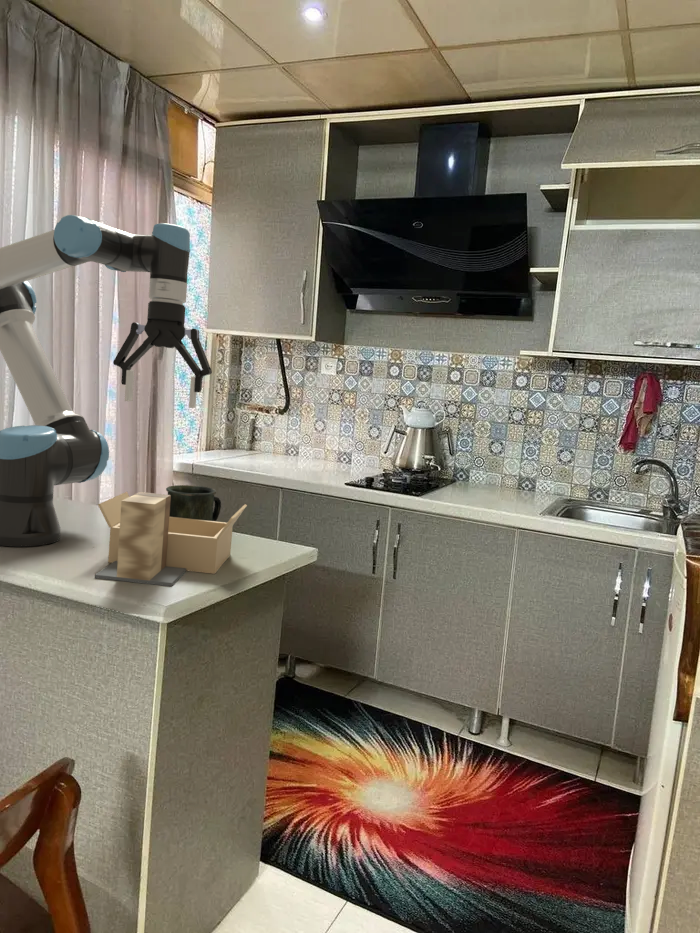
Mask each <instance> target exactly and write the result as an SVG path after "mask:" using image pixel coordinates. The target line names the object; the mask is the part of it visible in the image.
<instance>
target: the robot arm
mask: <svg viewBox="0 0 700 933" xmlns="http://www.w3.org/2000/svg"><path fill="white" fill-rule="evenodd" d="M190 244H191V234H190V231H189V229H187V228H186V227H183V226H181V225H178V224H172V223H167V222H166V223H164V222H160V223H156V224H154V225H153V227H152V232H151V234H133V233H129V232H127V231H123V230H121V229H117V228H115V227H112V226H109V225H106V224H104V223H101V222H98V221H95V220H92V219H91V218H89V217H84V216H79V215H76V214H67V215H64V216H62V217H60V220H59V221H58V222H57V223H56V224H55V227H54V229H51V230H50V231H46V232H43V233H40V234H37V235H34V236H32V237H29V238H26V239H23V240H20V241H17V242H14V243H11V244H7V245H5V246H2V247H0V354H1V355H2V358H3V359H4V362H5V364H6V365H7V367H8V368H7V369H8V370H9V372H10V374H11V377H12V378H13V380H14V383H15V384H16V387H17V389H18V391H19V393H20V395H21V397H22V399H23V402H24V404H25V406H26V408H27V409H28V413H29V414H30V417H31V418H32V420H33V423H34V424H33V425H18V426H17V425H16V426H11V427H10V426H9V427H6V428H3V429H1V430H0V546H3V547H6V546H7V547H37V546H43V545H44V546H45V545H50V544H52V543H56V542H58V541H60V540H61V526H60V525H61V524H60V522H59V518H58V516H57V512H56V509H55V505H54V492H55V490H54V488H55V486H61V485H68V484H75V483H78V484H81V483H84V482H87V481H92V480H94V479H96V478H98V477H99V476H101V475H102V473H103V472H104V471H105V469H106V468H107V465H108V461H109V458H110V448H109V445H108V444H109V443H108V440H107V439H106V437H105V436H104V435H103V434H102V432H100V431H99V432H98V431H96V430H94V429H90V428H89V425H88V423H87V421H86V419H85V417H84V416H83V415H81V414H77V413H75V412H74V410H73V409H72V406H71V404H70V402H69V400H68V398H67V395H66V394H65V392H64V389H63V388H62V386H61V383H60V382H59V379H58V377H57V376H56V373H55V371H54V369H53V367H52V365H51V363H50V360H49V358H48V356H47V354H46V352H45V350H44V348H43V346H42V344H41V342H40V340H39V338H38V335H37V333H36V331H35V328H34V327H33V324H34V322H35V320H36V316H35V314H36V312H37V306H36V304H37V303H38V302H37V296H36V293H35V290H34V288H33V287H32V285H31V284H30V283H29V281H31V280H34V279H36V278H40V277H44V276H46V275H49V274H52V273H57V272H59V271H62V270H66V269H69V268H72V267H74V266H75V267H76V266H79V265H82V264H86V263H89V262H91V263H97V264H100V265H104V266H105V267H106V268H107V269H108V270H111V271H115V272H116V271H117V272H121V273H126V272H136V273H137V272H138V273H139V272H140V273H146V272H147V273H149V274H150V275H149V288H148V289H149V290H148V291H149V292H148V298H149V299H150V300H151V301H149V302H148V304H147V317H146V319H147V320H146V323H145V324H141V323H138V322H134V321H133V322H132V323H131V324H130V331H129V334H128V335H127V337H126V339H125V341H124V342H123V344H122V346H121V347H120V349H119V350H118V352H117V355H116V356H115V358H114V360H113V362H112V364H113V365H115V366H117V367H119V368H120V369H121V385H123V386H125V391H124V402H133V399H134V385H135V384H134V383H135V382H134V381H135V380H134V379H135V370H134V369H132V368H133V367H134V365H136V364H137V363H138V362H139V360H141V358H143V356H144V355H146V353H147V352H149V350H151V349H152V348H154V347H157V348H168V349H176V350H177V352H178V353H179V355H180V356H181V358H183V360H184V362H185V363H186V364H187V366H188V367H189V368H190V370H191V372H192V373H193V374H194V376H190V383H189V384H190V386H189V397H188V398H189V400H188V408H189V409H195V408H196V405H197V393H201V392H202V388H203V387H202V386H203V378H204V377H206V376H209V375H211V374H212V372H213V370H212V368H211V365H210V362H209V360H208V358H207V356H206V353H205V351H204V348H203V345H202V343H201V340H200V330H199V329H198V328H191V329H187V328H186V327H185V320H186V319H185V318H186V306H185V305H184V303H186V302H187V292H188V291H187V290H188V273H189V270H188V269H189V263H190V254H191V248H190V246H191V245H190ZM143 332H145V334H146V336H147V338H146V339H145V340H144V341H142V344H140V345H139V347H137V348H136V350H135V351H134V352H133V353H132V354H131V355H130V356H129V354H130V352H131V351H132V350H133V347H134V345H135V344H136V342H137V340H138V338H139V335H142V334H143ZM185 336H187V339H189V340H191V344H192V347H193V349H194V351H195V353H196V356H197V359H198V361H199V364H200V366H199V365H198V363H197V362H196V361H195V359H194V358H193V357H192V354H190V352H189V351H188V349H187V347H186V345H185V344H184V343H183V341H182V340H183V339H184V338H185ZM128 356H129V357H128ZM127 357H128V358H127ZM200 367H201V368H200Z"/></svg>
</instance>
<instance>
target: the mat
mask: <svg viewBox="0 0 700 933" xmlns="http://www.w3.org/2000/svg"><path fill="white" fill-rule="evenodd" d="M117 564H118V561H114V562H113V563H109V564H108V565H107V566H105V567H104V568H102V569H101V570H100V571H98V572H97V573H95V574H94V579H103V580H111V581H119V582H130V583H137V584H138V583H140V584H147V585H148V584H149V585H158V586H165V587H166V586H167V587H172V586H173V585H175V583H176V582H177V581H178V580H179V579H180V578H181V577H182V576H183V575H184V574H185V573H186V572H187V571H186V568H178V567H168V566H166V567H164V568H163V569H162V570H161V571H160V572H159V573H158V574H156V575H155V576H154V577H153V578H152V579H151V580H150V581H149V580H140V579H131V578H121V577H117Z"/></svg>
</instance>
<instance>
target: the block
mask: <svg viewBox="0 0 700 933" xmlns="http://www.w3.org/2000/svg"><path fill="white" fill-rule="evenodd" d="M170 501H171V495H168V494H162V493H155V492H154V493H153V492H145V491H139V492H136V493H134V494H133V495H129V497H128V498H126V499H124V500H122V501H121V516H120V532H119V548H118V564H117V577H121V578H131V579H140V580H149V581H150V580H151V579H152V578H153V577H154V576H155V575H156V574H158V573H159V572H160V571H161V570H162V569H163V568H164V567H166V557H167V543H168V529H169V515H170Z"/></svg>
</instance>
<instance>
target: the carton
mask: <svg viewBox="0 0 700 933" xmlns="http://www.w3.org/2000/svg"><path fill="white" fill-rule="evenodd" d="M128 497H130V495H129V493H128V491H125V492H123V493H120V494H119V495H115V496H114V497H111V498H110V499H107V500H105V501H103V502H100V503H98V504H97V505H98V507H99V510H100V512H101V514H102V516H103V518H104V520H105V522H106V524H107V526H108V528H110V529H109V541H108V542H109V545H108V561H107V562H108V563H109V564H111V563H113V562H114V561H118V548H119V532H120V516H121V501H122V500H124V499H126V498H128ZM247 506H248V505H247V504H245V503H244V505H242V506H241V507H240V508H239V509H238V510H237V511H236V512H235V513H234V514H233V515H232V516H231V517H230V518H229V519H228V521H227V522H225V521H217V520H216V521H206V520H197V519H188V518H178V517H169V529H168V543H167V557H166V566H168V567H178V568H186V572H195V573H205V574H212V575H215V574H216V573H217V572H218V571H219V569H220V568H221V567H222V566H223V565H224V563H225V562H226V561H227V559H229V557H230V556H231V553H232V552H231V551H232V537H233V526H234V525H235V523H236V522H237V521H238V519H239V517H240V516H241V515H242V513H243V512H244V510H245V509H246V508H247Z"/></svg>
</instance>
